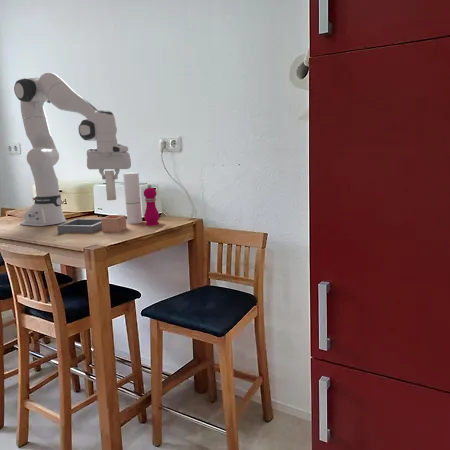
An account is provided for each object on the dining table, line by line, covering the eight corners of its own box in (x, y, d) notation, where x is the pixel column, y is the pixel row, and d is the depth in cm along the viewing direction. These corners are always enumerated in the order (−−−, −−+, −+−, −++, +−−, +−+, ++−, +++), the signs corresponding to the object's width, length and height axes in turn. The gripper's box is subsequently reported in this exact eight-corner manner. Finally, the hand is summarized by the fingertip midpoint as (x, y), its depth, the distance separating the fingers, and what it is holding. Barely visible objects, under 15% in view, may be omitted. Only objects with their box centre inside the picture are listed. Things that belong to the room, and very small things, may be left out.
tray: (58, 234, 217) (57, 225, 216) (77, 226, 232) (76, 218, 231) (93, 235, 212) (92, 226, 211) (110, 227, 227) (109, 219, 226)
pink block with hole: (102, 233, 214) (101, 218, 213) (111, 229, 222) (109, 215, 220) (118, 234, 212) (117, 218, 211) (126, 230, 220) (125, 215, 218)
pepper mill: (153, 228, 221) (150, 185, 217) (141, 227, 225) (138, 185, 221) (163, 225, 227) (160, 183, 223) (151, 224, 231) (148, 183, 227)
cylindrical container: (143, 222, 236) (140, 172, 230) (140, 225, 229) (136, 173, 223) (129, 222, 236) (125, 172, 231) (125, 225, 229) (121, 174, 224)
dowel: (105, 200, 213) (102, 171, 210) (109, 198, 216) (107, 170, 214) (113, 200, 212) (111, 171, 209) (117, 198, 215) (115, 170, 213)
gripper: (82, 148, 209) (85, 180, 212) (125, 148, 204) (127, 180, 206) (90, 148, 215) (92, 178, 218) (131, 147, 210) (133, 178, 212)
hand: (110, 179), depth 212 cm, fingers closed on dowel, 4 cm apart
